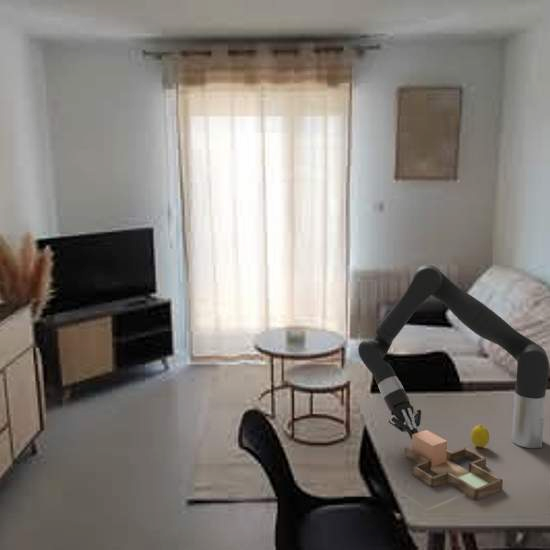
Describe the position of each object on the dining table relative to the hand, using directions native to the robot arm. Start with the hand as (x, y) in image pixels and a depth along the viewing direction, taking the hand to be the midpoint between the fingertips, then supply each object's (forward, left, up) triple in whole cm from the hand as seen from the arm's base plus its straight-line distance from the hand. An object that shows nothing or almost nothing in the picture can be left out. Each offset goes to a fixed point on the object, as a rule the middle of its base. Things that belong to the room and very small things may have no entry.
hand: (417, 441), depth 191 cm
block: (-4, +3, -4) cm, 6 cm away
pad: (-19, +14, -4) cm, 23 cm away
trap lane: (-11, +8, -4) cm, 14 cm away
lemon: (-18, -11, -4) cm, 22 cm away
